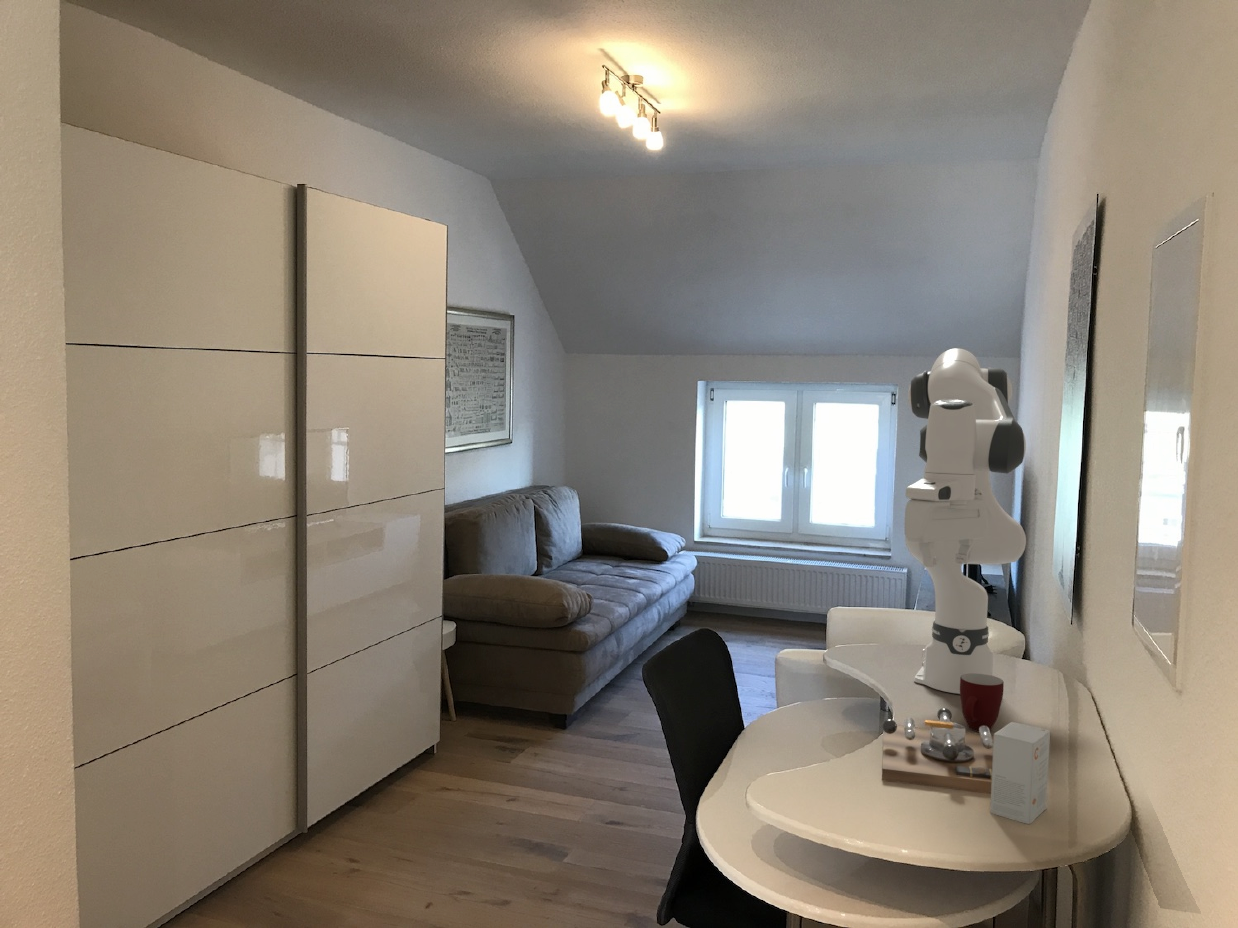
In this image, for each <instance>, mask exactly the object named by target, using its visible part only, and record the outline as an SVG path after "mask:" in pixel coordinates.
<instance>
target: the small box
mask: <svg viewBox="0 0 1238 928" xmlns="http://www.w3.org/2000/svg"><path fill="white" fill-rule="evenodd" d="M993 735H994V740H993V762H992V784H991V793H990V806H989V807H990V808H989V812H990V814H993V815H996V816H999V817H1003V818H1006V819H1010V820H1013V821H1015V822H1020V823H1023V824H1027V825H1030V824H1032V823H1033V822H1034V821H1035V819H1037V818H1038V817H1040V815H1041V814H1042V813H1043V812H1044V811H1045V810H1047V800H1048V799H1047V798H1048V795H1047V794H1048V793H1047V792H1048V779H1049V778H1048V775H1049V760H1050V741H1051V731H1050V730H1049V729H1045V728H1041V727H1037V726H1033V725H1028V724H1024V723H1020V722H1019V723H1018V722H1015V721H1011V722H1009V723H1007V724H1006V725H1004V726H1003V727H1002V728H1001V729H999V730H997V731H996V732H995V733H993Z"/></svg>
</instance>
